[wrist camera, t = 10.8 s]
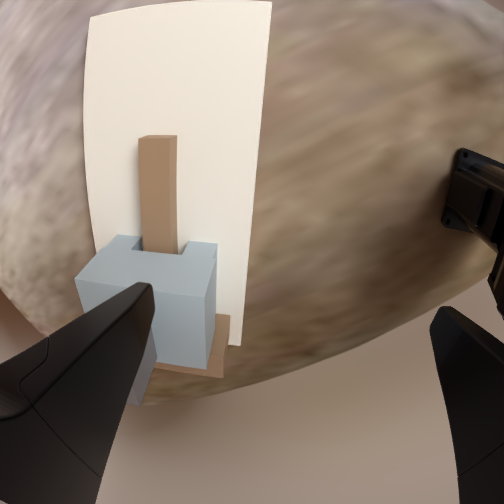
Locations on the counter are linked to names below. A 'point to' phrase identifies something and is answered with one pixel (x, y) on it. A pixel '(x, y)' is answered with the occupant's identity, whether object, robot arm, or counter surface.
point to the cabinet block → (160, 299)
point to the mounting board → (179, 137)
